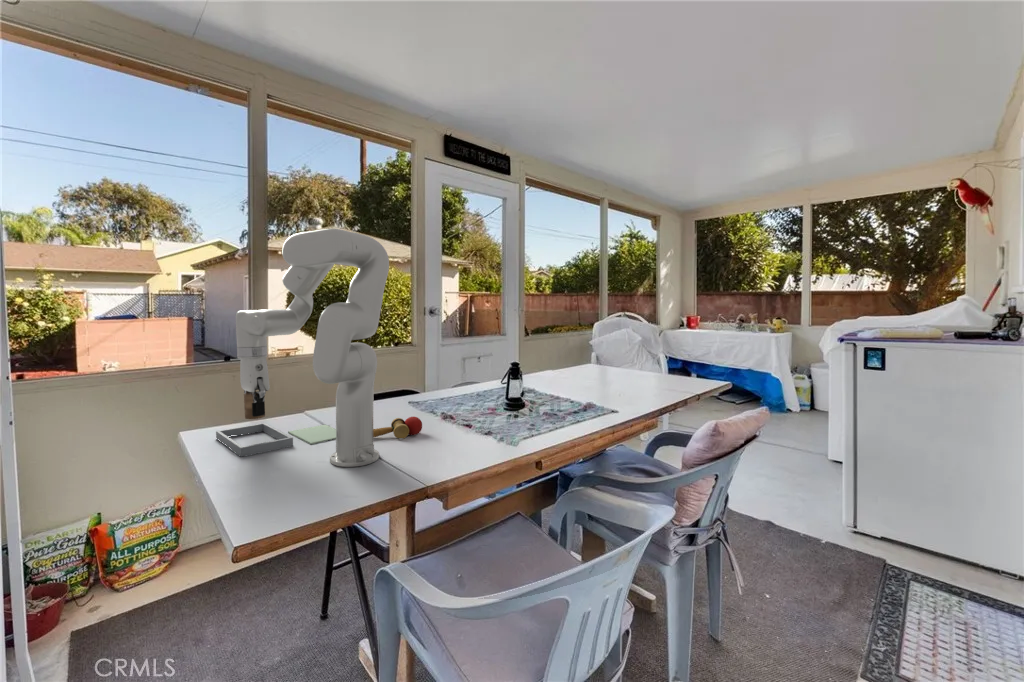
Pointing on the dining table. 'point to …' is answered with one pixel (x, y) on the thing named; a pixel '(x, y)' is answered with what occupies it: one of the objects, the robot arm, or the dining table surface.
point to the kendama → (401, 428)
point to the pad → (315, 434)
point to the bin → (282, 442)
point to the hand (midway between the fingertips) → (254, 413)
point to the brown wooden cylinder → (249, 406)
